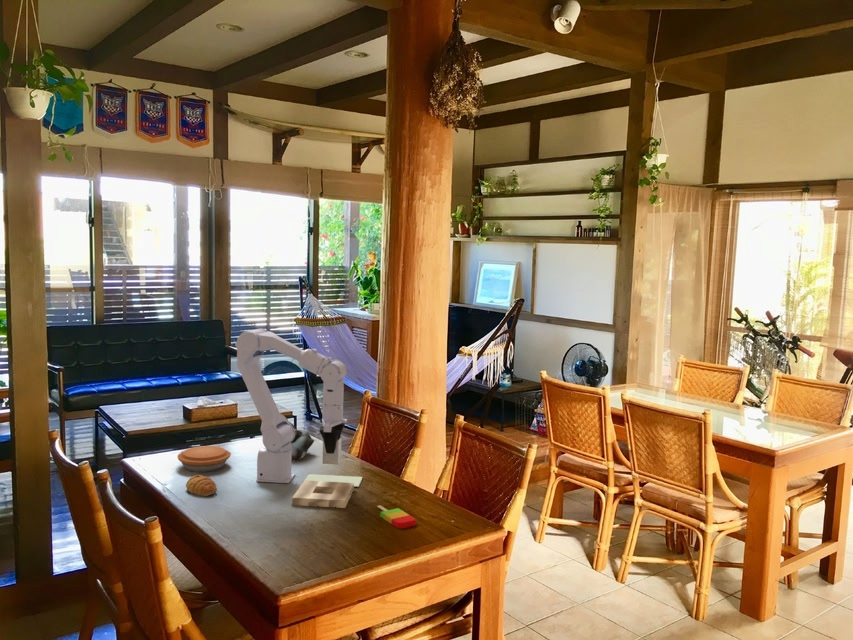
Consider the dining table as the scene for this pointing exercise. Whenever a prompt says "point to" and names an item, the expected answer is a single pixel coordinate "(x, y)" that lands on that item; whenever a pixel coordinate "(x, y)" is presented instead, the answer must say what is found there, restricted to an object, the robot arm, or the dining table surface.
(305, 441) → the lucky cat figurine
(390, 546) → the dining table surface
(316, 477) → the mat
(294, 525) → the dining table surface
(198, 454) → the pie
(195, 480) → the pastry
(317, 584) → the dining table surface
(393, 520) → the popsicle
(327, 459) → the block
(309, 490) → the pocket board
